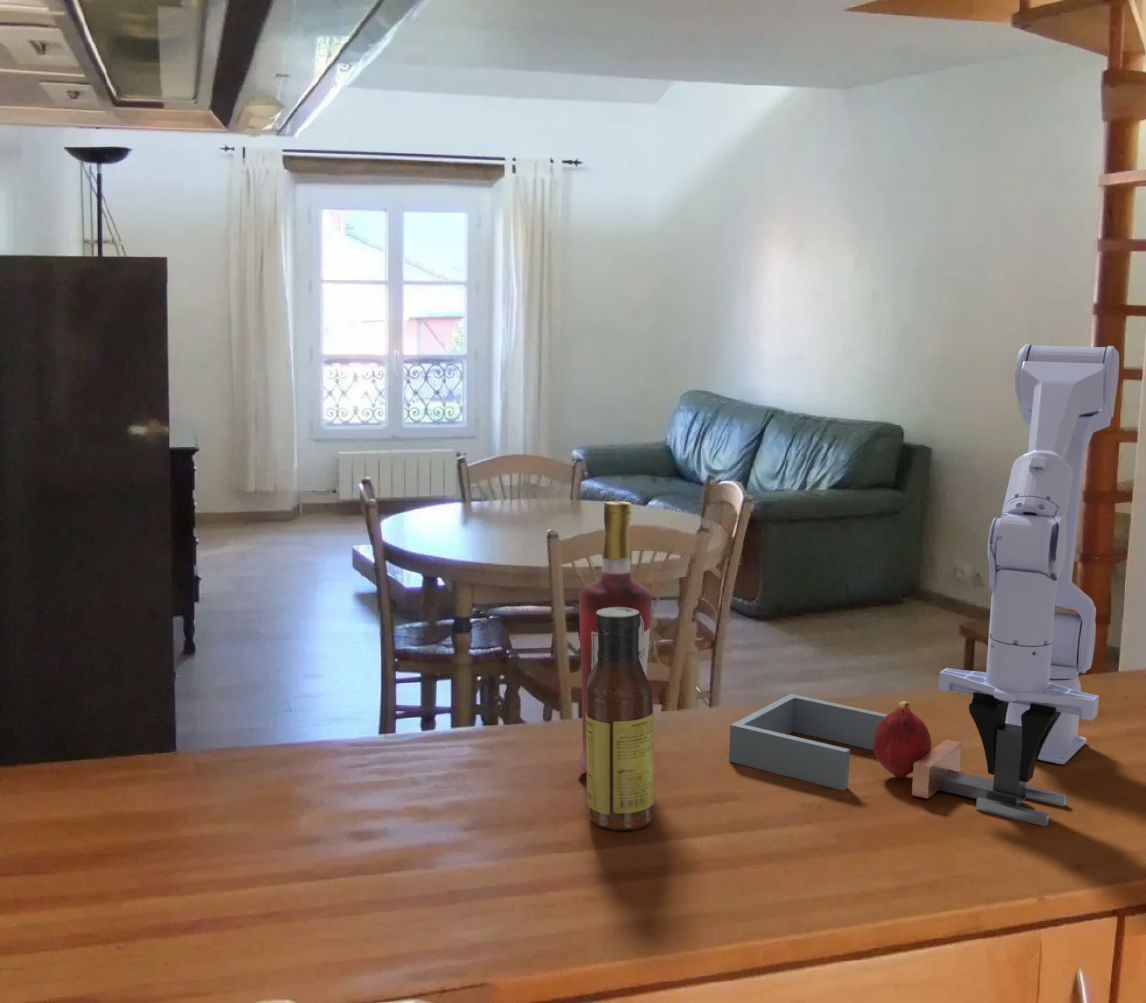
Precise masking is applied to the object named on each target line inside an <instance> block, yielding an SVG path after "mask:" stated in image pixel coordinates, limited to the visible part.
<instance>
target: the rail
mask: <svg viewBox="0 0 1146 1003" xmlns="http://www.w3.org/2000/svg"><path fill="white" fill-rule="evenodd" d="M1026 787H1027V788H1026V799H1029V800H1032V801H1035V802H1036V801H1038V802H1041V803H1046V804H1049V805H1054V806H1056V807H1057V806H1058V807H1062V808H1064V807H1065V806H1066V804H1067V794H1064V793H1061V792H1056V791H1052V790H1048V789H1044V788H1039V787H1034V786H1032V785H1031V786H1030V785H1027V784H1026ZM975 806H976V807H975V809H976V810H977V811H981V812H985V813H988V814H993V815H997V816H1001V817H1005V818H1010V819H1013V820H1018V821H1021V822H1026V823H1029V824H1034V825H1037V826H1042V827H1045V828H1046V827H1047V826H1048V825H1049V819H1050V814H1049V813H1047V812H1043V811H1039V810H1035V809H1032V808H1028V807H1027V808H1025V807H1022V806H1020V805H1019V806H1015V805H1011V804H1006V803H1002V802H998V801H994V800H990V799H986V798H982V797H979V798H978V799H976V804H975Z"/></svg>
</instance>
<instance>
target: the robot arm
mask: <svg viewBox="0 0 1146 1003" xmlns="http://www.w3.org/2000/svg"><path fill="white" fill-rule="evenodd" d="M1015 363H1016V364H1015V372H1014V393H1015V396H1016V398H1017V399H1016V400H1017V406H1018V411H1019V413H1020V414H1021V418H1022V419H1021V420H1022V421H1023V423H1025V424H1026V425H1029V429H1030V430H1029V438H1028V448H1027V453H1024V454H1022V455H1020V456H1019V457H1017V458H1016V459H1015V461H1014V462H1013V464H1012V466H1011V472H1010V475H1009V479H1008V485H1007V489H1006V493H1005V498H1004V502H1003V506H1002V511H1001V515H1000V517H999V518H998V517H996V516H995V517H994V518H993V519H992V522H991V523H990V524H991V525H990V527H989V533H988V538H987V539H988V540H987V561H988V573H989V574H988V590H990V591H991V596H990V597H991V600H990V611H989V614H990V616H989V627H988V642H987V643H988V645H987V657H986V669H985V670H986V672H985V671H976V670H975V671H974V670H965V669H963V670H962V669H956V668H950V667H945V668H944V669H942V670H941V671H939V674H938V675H939V677H938V691H939V692H945V693H950V692H954V693H959V694H960V693H961V694H965V695H971V696H972V699H971V702H970V703H969V704H968V712H969V714H970V716H971V717H972V720H973V722H974V724H975V726H976V728H977V731H978V735H979V736H980V739H981V743H982V746H983V750H984V754H985V755H984V756H985V761H986V768H987V774H988V775H993V776H994V769H995V755H996V741H997V729H998V728H1000V727H1001V726H1002V725H1003V724H1004V723H1008V724H1013V725H1017V726H1022V756H1021V764H1020V773H1019V774H1020V781H1022V782H1026V783H1029V781H1030V780H1032V778H1034V775H1035V774H1034V773H1035V769H1036V765H1037V762H1038V760H1040V761H1044V762H1048V763H1049V762H1050V763H1052V764H1053V763H1054V764H1058V765H1065V764H1066V763H1067V762H1068V761H1070V759H1071V758H1072V757H1073V756H1074V755H1075V754H1076V753H1077V752H1078V751H1079V750H1080V749H1081V748H1082V747H1083V746H1084V745H1086V743H1087V738H1086V737H1083V736H1081V735H1080V736H1079V735H1078V733H1079V723H1080V722H1079V720H1080V719H1082V720H1087V721H1093V720H1094V719H1096V717H1097V716H1098V712H1099V701H1100V696H1099V695H1096V694H1092V693H1087V692H1083V691H1082V686H1081V681H1080V678H1079V677H1078V676H1079V674H1081V673H1082V674H1085V673H1086V672H1087V671H1088V670H1091V668H1092V663H1093V660H1094V659H1093V658H1094V652H1095V645H1096V644H1095V643H1096V633H1097V632H1096V631H1097V630H1096V628H1097V626H1096V625H1097V624H1096V616H1097V615H1096V614H1097V609H1096V608H1097V607H1096V606H1095V604H1094V603H1095V602H1094V600H1093V599H1092V598H1091V597H1090V596H1088V594H1086V593H1085V592H1084V591H1083V590H1082V589H1081V588H1079V587H1078V586H1077V585H1076V584H1075V583H1074V582H1073V571H1074V564H1075V556H1076V555H1075V552H1076V545H1077V544H1076V542H1077V533H1078V527H1079V526H1078V525H1079V516H1080V505H1081V497H1082V486H1083V480H1084V479H1083V478H1084V471H1085V469H1084V468H1085V458H1086V453H1087V449H1088V448H1089V445H1090V442H1091V440H1092V436H1093V435H1094V433H1095V432H1099V431H1101V430H1103V429H1105V428H1107V427H1108V428H1109V427H1110V426H1111V421H1112V418H1114V415H1115V414H1114V413H1115V406H1116V398H1117V397H1116V396H1117V391H1118V385H1119V384H1118V383H1119V371H1120V354H1119V351H1118V350H1117V349H1116V348H1115V346H1113V345H1108V346H1107V347H1105V346H1104V347H1103V346H1101V347H1100V346H1099V347H1097V346H1070V345H1069V346H1065V345H1064V346H1063V345H1062V346H1060V345H1058V346H1057V345H1036V344H1035V345H1033V344H1031V343H1026V344H1024V345H1023V346H1022V348H1020V349H1019V351H1018V353H1017V357H1016V362H1015ZM1055 608H1057V609H1058V608H1059V609H1065V610H1067V609H1068V610H1071V611H1076V613H1071V612H1062V611H1055V610H1056V609H1055Z"/></svg>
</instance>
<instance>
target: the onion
mask: <svg viewBox="0 0 1146 1003" xmlns="http://www.w3.org/2000/svg"><path fill="white" fill-rule="evenodd" d="M931 750H932V737H931V735H930V732H929V730H928V727H927V726H926V724H925V723H924V721H923V720H922V718H920V717H919V715H917V714H916V713H914V712H913V711H912V710H911V703H909V702H908V701H905V700H902V701H900V702H899V703H898V707H897V708H896V709H895V710H894V711H892V712H890V713H888V715H887V716H885V717H884V718H883V719H882V720H881V721H880V722H879V723H878V725H877V726H876V728H875V731H874V734H873V750H872V751H873V753H874V755H875V757H876V760H877V761H878V762H879V764H880V765H881V766H882V767H883V768H884V769H885V770H886V771H888V772H889V773H891V774H892V776H894V777H895V778H898V779H902V778H903V779H904V778H905V777H907V776H909V775H910V774H913V768H914V763H915V762H917V761H918V760H919V759H921V758H922V757H923V756H925V755H926V754H927V753H929V752H930V751H931Z"/></svg>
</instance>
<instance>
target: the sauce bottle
mask: <svg viewBox="0 0 1146 1003" xmlns="http://www.w3.org/2000/svg"><path fill="white" fill-rule="evenodd" d="M640 625H641V622H640V612H639V611H638V610H636V609H631V608H627V607H610V608H604V609H600V610H598V611H597V612H596V627H597V629H598V652H597V656H598V661H597V663H596V664H595V666H594V668H593V669H592V671H591V673H590V674H589V676H588V679H587V687H586V695H587V711H586V751H587V773H586V804H587V806H588V814H589V817H590V820H591V821H592V823H593V824H594V825H596V826H600V827H603V828H606V829H608V830H611V831H633V830H637V829H641V828H643V827H646V826H647V825H649V824H650V822H651V821H652V819H653V817H654V803H655V761H654V760H655V759H654V758H655V757H654V755H655V754H654V753H655V752H654V750H655V748H654V747H655V746H654V745H655V744H654V742H655V740H654V705H653V697H652V696H653V695H652V686H651V684H650V681H649V680H648V678H647V674H646V675H645V673H644V670H643V668H642V665H641V663H640V659H639V654H640V652H639V648H638V647H639V645H638V643H639V641H638V638H639V636H638V633H639V632H638V630H639V627H640Z"/></svg>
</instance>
